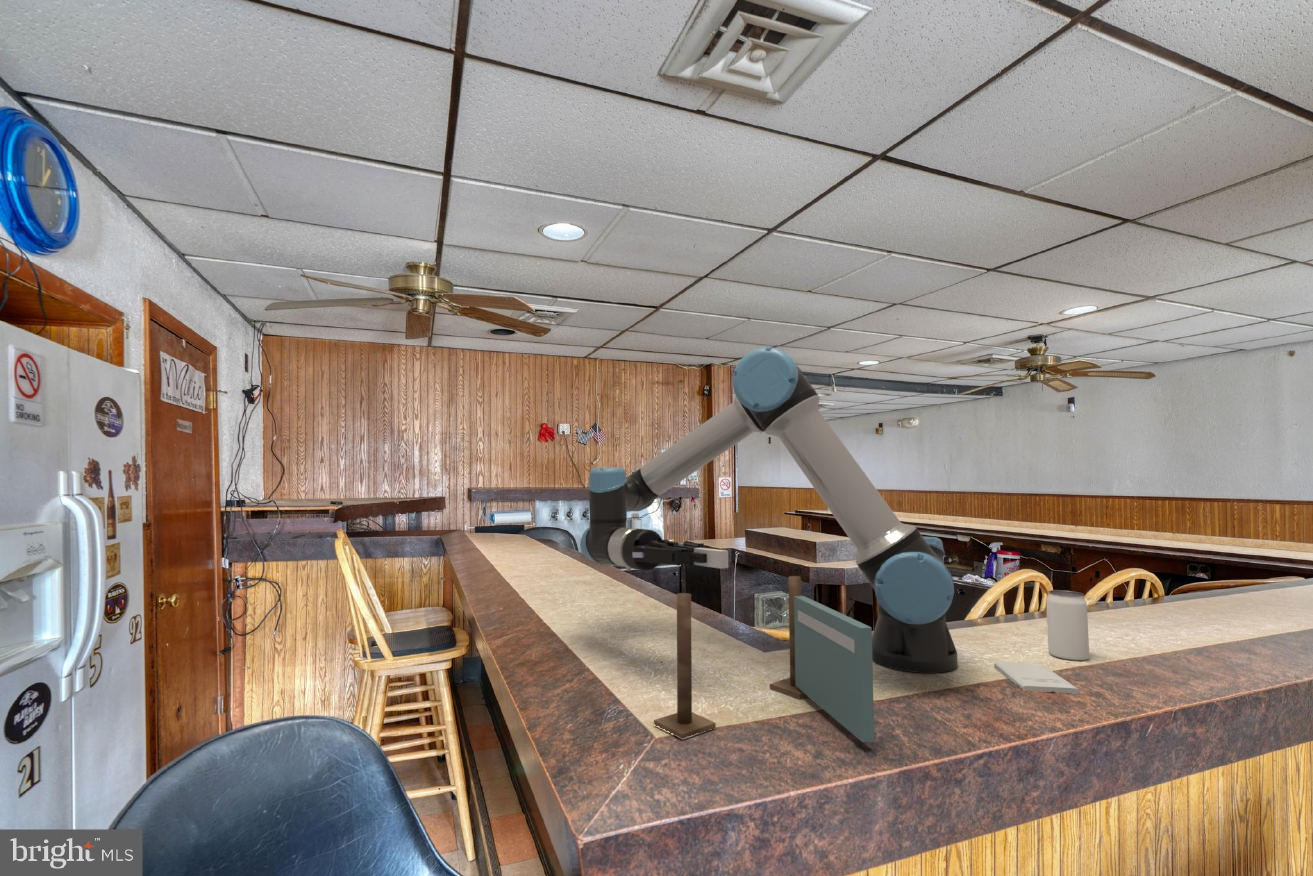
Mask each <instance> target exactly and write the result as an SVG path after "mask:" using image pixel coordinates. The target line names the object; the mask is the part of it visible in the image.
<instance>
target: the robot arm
mask: <svg viewBox="0 0 1313 876" xmlns="http://www.w3.org/2000/svg"><path fill="white" fill-rule="evenodd" d="M732 389H733V392H734V394H735V395H734V399H733V402H732V403H730V404H729V405H728V406H726V407H724V409H722V410H720V411H719V412H717V413H716V414H715V415H713V416H711V417H710V418H709V419H708V420H706V421H704V422H703V423H702V424H700V425H699V426H698V427H696V428H695V429H693V430H692V431H691V432H689V433H688V434H686V435H685V436H683V437H682V438H680V439H679V440H677V441H676V442H674V443H673V444H672V445H671V446H669V447H668V448H666V449H665V450H663V451H662V452H660V453H659V454H658V455H656V456H655V457H654V458H652V459H650V460H649V461H648V462H646V463H645V464H643V466H641V467H639V468H638V469H637V470H636V471H634V472H632V473H631V474H629V475H628V476H627V473H626V472H627V471H626V470H625V468H624V467H619V466H618V467H617V466H616V467H614V466H613V467H595V468H592V469H590V472H589V482H588V495H589V496H588V497H589V498H588V500H589V501H588V502H589V505H588V506H589V522H588V523H589V527H588V528H586V529H585V530H584V531H583V534H582V536H581V538H580V550H581V552H582V554H583V556H584V557H585V558H586V559H588V560H589V561H592V562H593V563H597V564H600V565H609V566H615V567H616V566H617V567H624V568H625V570H626V571H631V570H632V569H633V570H639V571H645V572H648V571H652V570H654V569H655V568H657V567H658V566H659V564H661V565H670V566H671V565H674V566H682V565H685V567H686V569H687V570H692V569H693V567H694V566H700V567H706V568H714V569H729V550H725V549H716V548H710V547H709V546H707V545H704V543H695V544H694V543H690V542H688V541H683V542H682V543H680V544H679V542H676V541H670V540H669V539H662V537H661V535H660V534H659V533H658V532H657V531H656V530H652V529H647V528H646V529H645V528H635V527H628V526H627V525H628V524H627V523H628V522H627V521H628V518H627V517H628V514H627V513H628V512H629V513H630V512H640V511H641V512H642V511H643V510H645V509H648V508H649V507H651V506H652V505H653V504H654V502H655V500H656V499H658V497H660V496H661V495H663V494H664V493H666V492H667V491H669V490H670V489H672V488H673V487H674V486H677V484H679V483H681V482H682V481H683V480H685V479H687V478H688V477H689V476H691V475H692V474H694V473H696V472H697V471H698V470H700V469H701V468H703V467H704V466H706V465H708V464H709V463H710V462H711V461H713V460H714V459H716V458H718V457H719V456H721V455H722V454H723V453H725V452H727V451H728V450H729V449H731V448H732V447H734V446H735V445H737V444H738V443H740V442H741V441H743V440H745V439H746V438H747V437H749V436H751V434H754V433H760V434H761V433H765V434H766V435H767V436H768V435H769V436H774V437H777V438H779V440H780V441H781V443H782V445H784V447H785V449H786V450H787V452H788V453H789V454H790V456H791V457H792V459H793V460H794V462H795V463H796V465H798V467H799V468H800V470H801V471H802V473H803V474H804V476H805V477H806V478H807V480H808V481H809V483H810V484H811V485H812V488H813V489H814V490H815V491H816V493H817V494H818V495H819V497H820V498H821V500H822V501H823V502H824V504H825V506H826V507H827V508H828V510H829V511H830V512H831V514H832V515H833V518H834V519H835V520H836V521H837V523H838V524H839V526H840V527H841V528H842V530H843V531H844V533H845V534H846V535H847V537H848V538H849V540H850V541H851V543H852V544H853V546H854V547H855V548H856V550H857V553H856V557H855V563H856V565H857V566H858V568H859V570H860V572H861V573H862V574H863V575H864V577H865V578H866V580H867V581H868V583H869V584H870V585H871V587H872V588H873V590H874V592H875V593H874V594H875V597H876V599H877V603H878V606H877V607H878V610H877V611H878V617H877V620H876V624H875V627H874V630H873V632H872V662H873V661H874V663H876V664H879V665H881V666H883V667H884V666H885V667H886V668H887V667H888V668H890V669H895V670H899V671H905V672H912V673H913V672H914V673H921V674H922V673H925V674H926V673H927V674H928V673H929V674H931V673H932V674H935V673H936V674H937V673H947V672H951V671H954V670H956V669H957V668H958V667H959V663H958V662H959V659H958V656H959V655H958V651H957V648H956V646H955V643H954V641H953V638H952V635H951V632H950V629H949V626H948V624H947V621H946V620H947V617H946V612H948V610H949V609H950V607H951V604H952V602H953V598H954V594H955V586H954V585H955V583H954V578H953V576H952V574H951V572H950V570H949V569H948V567H947V566H946V564H945V562H944V560H945V559H944V557H945V554H946V552H945V549H944V543H943V541H942V540H941V538H939V537H934V536H923V535H922V534H921V532H920V530H918V528H917V527H916V526H915V525H911V524H905V523H902V522H901V521H900V519H899V518H898V517H897V515H896V514H895V512H894V511H893V510H892V508H891V507H890V506H889V504H888V502H887V501H886V500H885V499H884V497H883V496H882V495H881V494H880V492H879V491H878V489H877V488H876V487H875V485H874V484H873V483H872V481H871V480H870V478H869V477H868V476H867V474H866V473H865V472H864V470H863V469H862V467H861V466H860V465H859V463H858V462H857V461H856V459H855V458H854V457H853V455H852V454H851V452H850V451H849V450H848V448H847V447H846V446H845V444H844V443H843V442H842V440H841V439H840V437H839V436H838V435H837V434H836V432H835V431H834V429H833V427H831V424H829V422H828V421H827V419H826V418H825V417H824V416H823V414H822V413H821V412H820V410H819V404H820V396H819V394H818V392H817V391H816V390H815V388H814V387H813V386H812V384H811V383H810V382H809V380H808V379H807V377H806V376H805V374H804V373H803V371H802V370H801V368H800V367H798V365H797V364H796V361H795V360H794V359H793V358H792V356H791V355H790V354H789V353H787V352H785V351H784V350H781V349H779V348H776V347H771V346H764V347H759V348H758V347H757V348H756V349H753V350H751V351H749V352H748V353H746V354H745V355H744V356H742V357H741V359H740V360H739V361H738V362H737V364H736V366H735V368H734V372H733V375H732Z"/></svg>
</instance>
